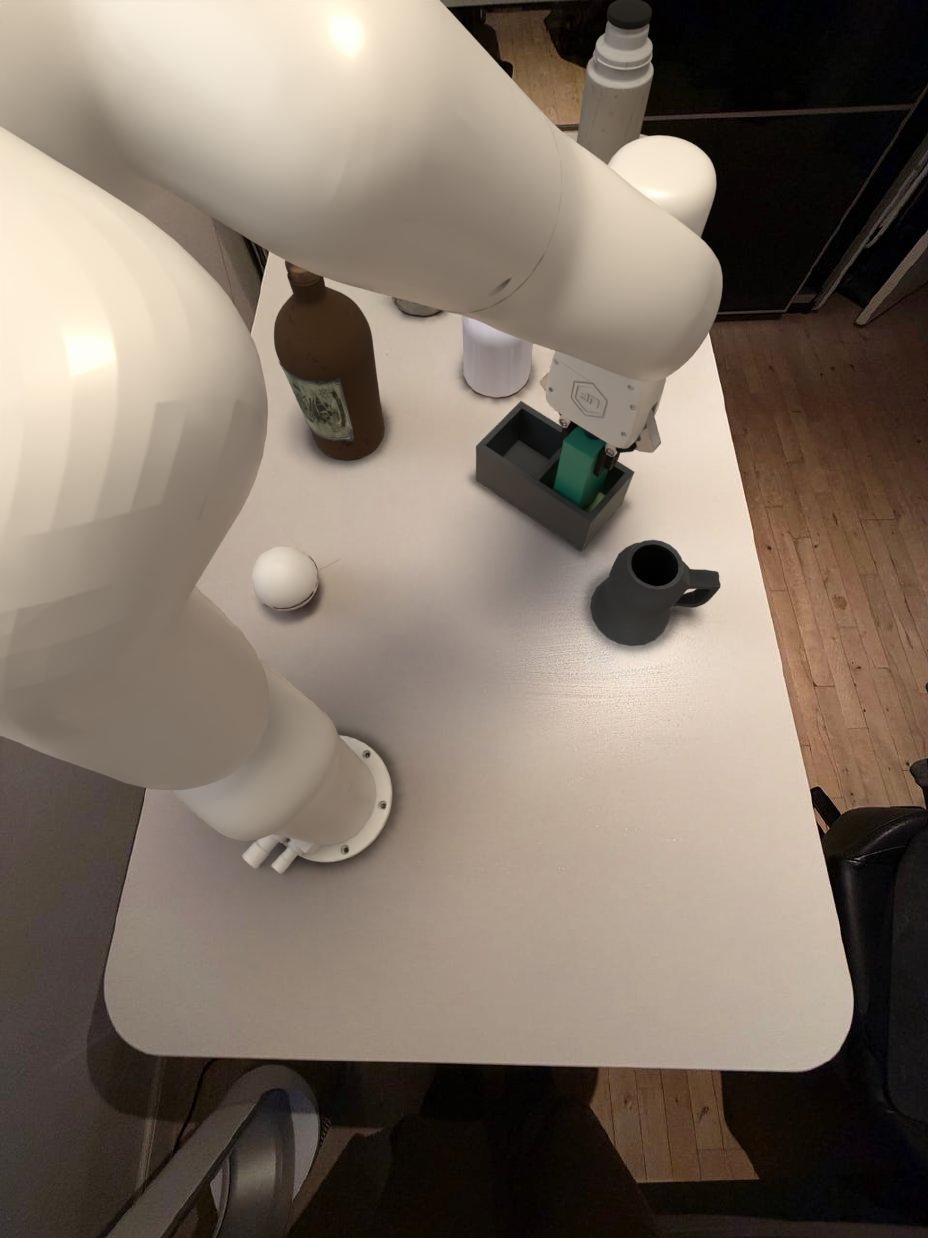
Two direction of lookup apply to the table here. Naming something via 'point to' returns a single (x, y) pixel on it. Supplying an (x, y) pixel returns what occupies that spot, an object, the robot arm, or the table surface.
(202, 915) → the table surface
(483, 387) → the soap bottle
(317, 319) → the olive oil
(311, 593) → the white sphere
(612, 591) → the mug
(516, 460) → the compartment box
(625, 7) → the thermos bottle
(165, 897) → the table surface
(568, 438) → the detergent bottle
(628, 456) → the table surface
